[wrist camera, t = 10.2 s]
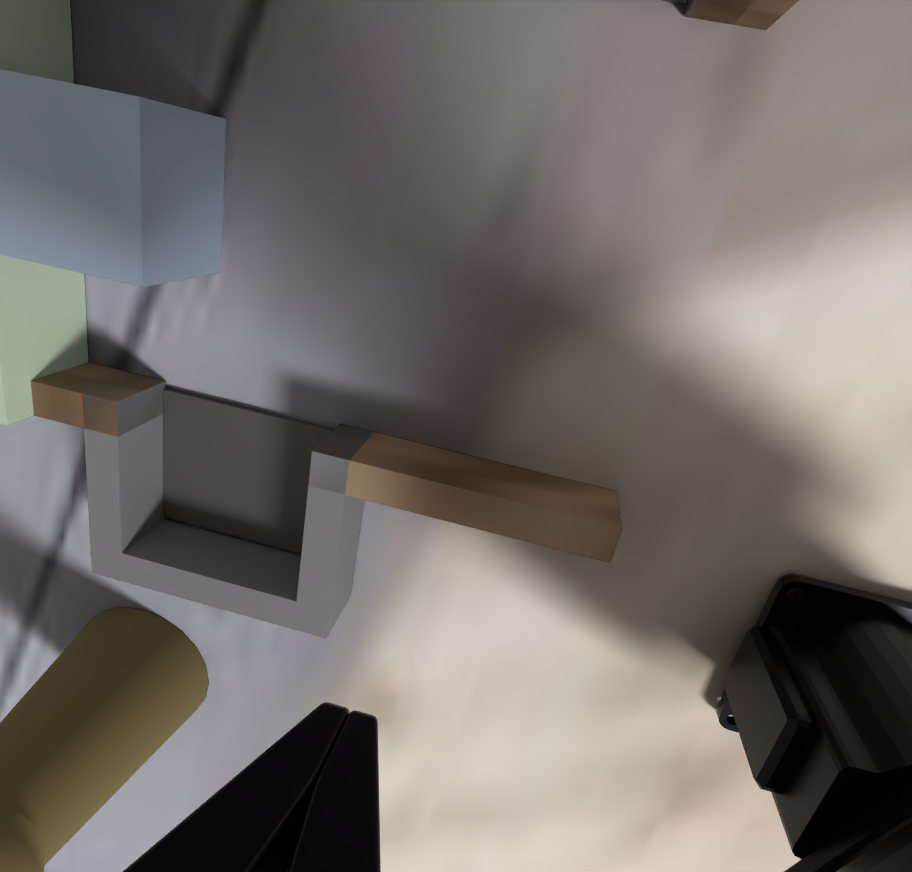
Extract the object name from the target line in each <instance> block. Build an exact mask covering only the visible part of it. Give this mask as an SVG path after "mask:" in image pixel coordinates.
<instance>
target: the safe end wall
mask: <svg viewBox="0 0 912 872" xmlns="http://www.w3.org/2000/svg"><path fill="white" fill-rule="evenodd" d="M0 69H2V70H7V71H12V72H18V73H23V74H28V75H33V76H38V77H43V78H48V79H53V80H58V81H63V82H68V83H73V84H74V69H73V50H72V30H71V11H70V0H0ZM85 363H88V343H87V324H86V304H85V285H84V274H82V273H78V272H74V271H69V270H65V269H61V268H56V267H52V266H47V265H43V264H39V263H34V262H30V261H26V260H21V259H17V258H13V257H8V256H4V255H0V424H3V425H10V424H13V423H15V422H18V421H20V420H23V419H26V418H28V417H31V416H33V415H34V412H33V401H32V390H31V380H34V379H38V378H41V377H44V376H47V375H50V374H53V373H56V372H60V371H63V370H66V369H69V368H72V367H75V366H78V365H82V364H85Z"/></svg>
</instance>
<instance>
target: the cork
mask: <svg viewBox="0 0 912 872" xmlns="http://www.w3.org/2000/svg"><path fill="white" fill-rule="evenodd" d="M208 685H209V680H208V674H207V669H206V664H205V662H204V661H203V659H202V657H201V655H200V653H199V651H198V649H197V647H196V646H195V645H194V644H193V643H192V642H191V641H190V640H189V638H188V637H187V636H186V635H185V634H184V633H183V632H182V631H181V630H180V629H178V628H177V627H175V626H174V625H172V624H171V623H170V622H168V621H167V620H165V619H164V618H162V617H159V616H157V615H154V614H152V613H149V612H147V611H144V610H140V609H132V608H124V607H121V608H116V609H111V610H106V611H104V612H102V613H101V614H99V615H98V616H96V617H95V618H93V619H92V620H91V621H90V622H89V623H88V624H87V625H86V626H85V628H84V629H83V630H82V631H81V632H80V633H79V634H78V636H77V637H76V638H75V639H74V640H73V641H72V642H71V643H70V645H69V646H68V647H67V648H66V649H65V650H64V651H63V652H62V654H61V655H60V656H59V657H58V658H57V659H56V660H55V662H54V663H53V664H52V665H51V666H50V667H49V668H48V669H47V671H46V672H45V673H44V674H43V675H42V676H41V677H40V678H39V680H38V681H37V682H36V683H35V684H34V685H33V686H32V688H31V689H30V690H29V691H28V692H27V693H26V694H25V695H24V697H23V698H22V699H21V700H20V701H19V702H18V703H17V704H16V706H15V707H14V708H13V709H12V710H11V711H10V712H9V714H8V715H7V716H6V717H5V718H4V719H3V720H2V721H1V723H0V872H44V866H45V864H46V863H47V862H48V861H49V860H50V859H51V858H52V857H53V856H54V855H55V854H56V853H57V852H58V851H59V850H60V849H61V848H62V847H63V846H64V845H65V844H66V843H67V842H68V841H69V840H70V839H71V838H72V837H73V836H74V835H75V834H76V833H77V832H78V831H79V830H80V829H81V828H82V826H83V825H84V824H85V823H86V822H87V821H88V820H89V819H90V818H91V817H92V816H93V815H94V814H95V813H96V812H97V811H98V810H99V809H100V808H101V807H102V806H103V805H104V804H105V803H106V802H107V801H108V800H109V799H110V798H111V797H112V796H113V795H114V794H115V793H116V792H117V791H118V790H119V789H120V788H121V787H122V786H123V784H124V783H125V782H126V781H127V780H128V779H129V778H130V777H131V776H132V775H133V774H134V773H135V772H136V771H137V770H138V769H139V768H140V767H141V766H142V765H143V764H144V763H145V762H146V761H147V760H148V759H149V758H150V757H151V756H152V755H153V754H154V753H155V752H156V751H157V750H158V749H159V748H160V747H161V746H162V745H163V744H164V742H165V741H166V740H167V739H168V738H169V737H170V736H171V735H172V734H173V733H174V732H175V731H176V730H177V729H178V728H179V727H180V726H181V725H182V724H183V723H184V722H185V721H186V720H187V719H188V718H189V717H190V716H191V715H192V714H193V713H194V712H195V711H196V710H197V709H198V707H199V706H200V705H201V703H202V702H203V701H204V699H205V698H206V694H207V690H208Z"/></svg>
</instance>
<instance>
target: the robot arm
mask: <svg viewBox="0 0 912 872" xmlns="http://www.w3.org/2000/svg"><path fill="white" fill-rule="evenodd" d="M792 588H799V590H798V591H797V592H796V593H793V594H788V593H787V592H788V591H789V590H790V589H792ZM723 685H724V688H725V691H724V694H723V696H722V698H721V700H720V702H719V704H718V706H717V710H716V712H717V715H718V719H719V722H720V724H721V725H722V726H723V727H724V728H726V729H728V730H731V731H735V732H739V734H740V737H741V740H742V744H743V747H744V750H745V753H746V756H747V759H748V762H749V765H750V768H751V771H752V774H753V777H754V779H755V781H756V783H757V784H758V786H759V787H760V789H763V790H767V791H771V792H772V795H773V798H774V801H775V803H776V806H777V809H778V812H779V815H780V818H781V821H782V824H783V826H784V829H785V832H786V835H787V838H788V841H789V844H790V847H791V849H792V852H793V853H794V855H795V856H797V857H799V858H801V860H800V861H799V862H797V863H796V864H794V865H793V866H791V867H790V868H789V869H787V870H786V871H784V872H912V603H908V602H904V601H900V600H896V599H893V598H889V597H885V596H881V595H877V594H873V593H869V592H865V591H861V590H857V589H853V588H849V587H845V586H841V585H837V584H833V583H829V582H825V581H821V580H817V579H813V578H809V577H805V576H801V575H795V574H789V575H785V576H783V577H781V578H780V579H779V580H778V581H777V582H776V584H775V586H774V588H773V590H772V592H771V594H770V596H769V598H768V600H767V603H766V605H765V607H764V609H763V611H762V613H761V615H760V617H759V620H758V622H757V624H756V626H753V627H752V628H750V629H749V630H748V631H747V633H746V635H745V637H744V640H743V642H742V644H741V646H740V648H739V650H738V652H737V655H736V657H735V659H734V661H733V663H732V665H731V667H730V669H729V672H728V674H727V676H726V678H725V680H724V683H723ZM731 714H733V717H732V716H729V715H731ZM123 872H381V870H380V819H379V768H378V722H377V718H376V717H375V716H373V715H370V714H366V713H363V712H359V711H352V712H351V713H350V712H349V710H348V709H347V708H345V707H342V706H339V705H335V704H332V703H327V702H326V703H323V704H321V705H320V706H318V707H317V708H316V709H315V710H314V711H312V712H311V713H310V714H309V715H308V716H306V717H305V718H304V719H303V720H302V721H301V722H299V723H298V724H297V725H296V726H295V727H293V728H292V729H291V730H290V731H289V732H287V733H286V734H285V735H284V736H283V737H282V738H280V739H279V740H278V741H277V742H276V743H274V744H273V745H272V746H271V747H270V748H269V749H267V750H266V751H265V752H264V753H263V754H261V755H260V756H259V757H258V758H257V759H256V760H254V761H253V762H252V763H251V764H250V765H248V766H247V767H246V768H245V769H244V770H242V771H241V772H240V773H239V774H238V775H237V776H235V777H234V778H233V779H232V780H231V781H229V782H228V783H227V784H226V785H225V786H224V787H222V788H221V789H220V790H219V791H218V792H216V793H215V794H214V795H213V796H212V797H211V798H209V799H208V800H207V801H206V802H205V803H203V804H202V805H201V806H200V807H199V808H198V809H196V810H195V811H194V812H193V813H192V814H190V815H189V816H188V817H187V818H186V819H184V820H183V821H182V822H181V823H180V824H179V825H177V826H176V827H175V828H174V829H173V830H171V831H170V832H169V833H168V834H167V835H166V836H164V837H163V838H162V839H161V840H160V841H158V842H157V843H156V844H155V845H154V846H153V847H151V848H150V849H149V850H148V851H147V852H145V853H144V854H143V855H142V856H141V857H139V858H138V859H137V860H136V861H135V862H134V863H132V864H131V865H130V866H129V867H128V868H126V869H125V870H124V871H123Z"/></svg>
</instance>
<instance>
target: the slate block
mask: <svg viewBox="0 0 912 872" xmlns="http://www.w3.org/2000/svg"><path fill="white" fill-rule="evenodd" d="M225 141H226V119H224V118H221V117H217V116H213V115H209V114H205V113H201V112H197V111H193V110H190V109H186V108H182V107H178V106H174V105H170V104H166V103H162V102H159V101H155V100H151V99H147V98H143V97H139V96H134V95H129V94H124V93H119V92H114V91H109V90H104V89H98V88H93V87H88V86H83V85H78V84H73V83H68V82H63V81H58V80H53V79H48V78H43V77H38V76H33V75H28V74H23V73H18V72H12V71H7V70H2V69H0V255H4V256H8V257H13V258H17V259H21V260H26V261H30V262H34V263H39V264H43V265H47V266H52V267H56V268H61V269H65V270H69V271H74V272H78V273H82V274H87V275H91V276H95V277H100V278H104V279H108V280H113V281H117V282H122V283H126V284H130V285H135V286H139V287H147V286H153V285H158V284H163V283H169V282H174V281H179V280H184V279H190V278H195V277H200V276H206V275H211V274H216V273H221V256H222V227H223V199H224V170H225Z"/></svg>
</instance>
